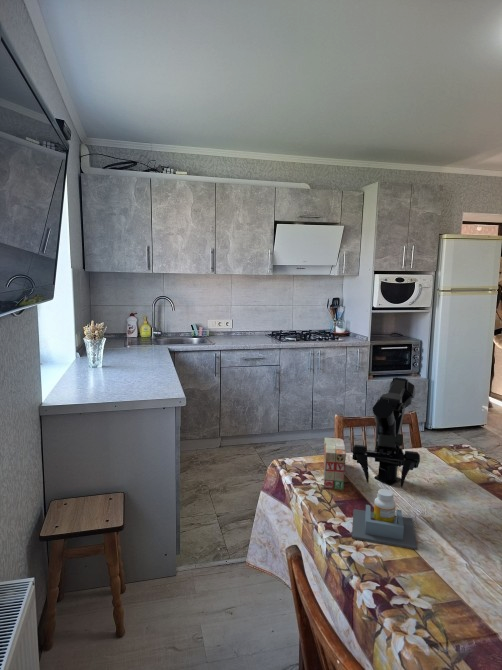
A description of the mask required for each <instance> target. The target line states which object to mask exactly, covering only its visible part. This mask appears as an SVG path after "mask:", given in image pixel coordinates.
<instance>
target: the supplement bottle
mask: <svg viewBox="0 0 502 670" xmlns="http://www.w3.org/2000/svg"><path fill="white" fill-rule="evenodd" d="M377 490H378V491H377V497H376V498H375V499H374V503H373V504H374V506H373V512H374V517H373V520H376V521H382V522H388V523H394V519H395V516H396V502H395V500H394V492H393V491H392V490H390V489H387V488H380V489H377Z"/></svg>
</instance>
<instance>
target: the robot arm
mask: <svg viewBox="0 0 502 670" xmlns="http://www.w3.org/2000/svg"><path fill="white" fill-rule="evenodd" d="M415 396H416V386H415V385H414V383H412V382H410V381H409V379H408V378H404V377H396V376H395V377H393V378H392V381H390V384H389V390H388V392H386V393H383V394H381V396H380V397H379V398H378V399H377V401H376V402H375V403H374V405H373V406H372V412H373V418H374V422H375V424H376V425H375V426H376V427H375V446H374V450H371V449H370V450H368V449H367V448H368V446H367V445H363V444H362V445H360V444H354V445H353V446H352V460H354V461H356V463H357V464H359V465H360V467H361V469H362V471H363V474H364V478H365V481H366V483H367V484H369V480H370V477H369V475H370V474H369V462H368V458H371V459H374V462H375V463H378V472H377V473H378V474H377V475H375V476H374V477H373V479H375V480H378V481H379V482H382V483H384V484H387V485H389V486H392V485H394V484H396V483H398V482H400V488H403V486H404V483H405V480H406V477H407V475H408V474H409V472H410V471H413V470H414V469H418V468H419V465H420V462H421V455H420V453H419V452H418V451H413V450H412V451H411V450H405V451H404V449H403V448H402V446H403V445H404V434H402V433H401V429H402V425H403V420H404V415H405V411H406V409H407V407H410V405H412V402H413V399H415ZM400 467H402V469H401V477H398V468H400Z"/></svg>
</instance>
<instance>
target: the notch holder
mask: <svg viewBox="0 0 502 670" xmlns="http://www.w3.org/2000/svg"><path fill="white" fill-rule="evenodd" d="M352 512H353V513H352V514H353V515H352V528H351V539H354V540H360V541H366V542H371V543H377V544H383V545H388V546H394V547H401V548H404V549H406V548H407V549H411V550H416V551H417V550H418V541H417V538H416V531H415V527H414V520H413V518H411V517H408V516H403V512H402V509H396V513H395V519H394V523H388V522H382V521H376V520H373V517H374V511H371V505H369V504H365V510H363V509H362V510H361V509H356V508H355V509H354V508H353V509H352Z"/></svg>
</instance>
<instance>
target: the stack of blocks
mask: <svg viewBox="0 0 502 670" xmlns="http://www.w3.org/2000/svg"><path fill="white" fill-rule="evenodd" d="M323 440H324V441H323V488H324V489H331V490H342V491H343V490H344V487H345V485H344V484H345V472H346V460H347V459H346V458H347V452H346V446H345V442H344V439H342V438H337V437H324V439H323Z"/></svg>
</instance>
